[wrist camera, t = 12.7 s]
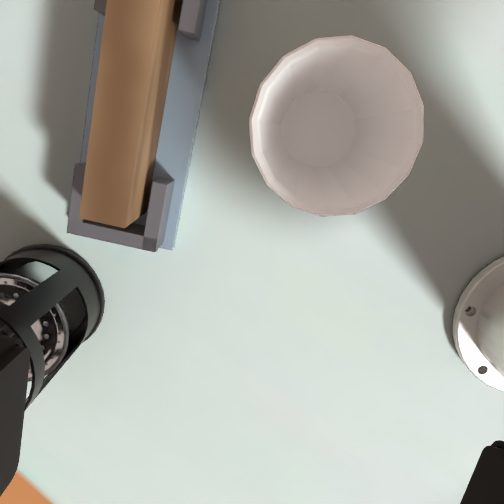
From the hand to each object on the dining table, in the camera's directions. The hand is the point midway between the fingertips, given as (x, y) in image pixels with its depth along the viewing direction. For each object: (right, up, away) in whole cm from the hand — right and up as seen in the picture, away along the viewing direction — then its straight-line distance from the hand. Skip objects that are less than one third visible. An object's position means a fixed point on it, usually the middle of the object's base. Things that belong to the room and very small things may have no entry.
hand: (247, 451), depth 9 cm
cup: (+5, +13, +26) cm, 30 cm away
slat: (-8, +15, +24) cm, 30 cm away
